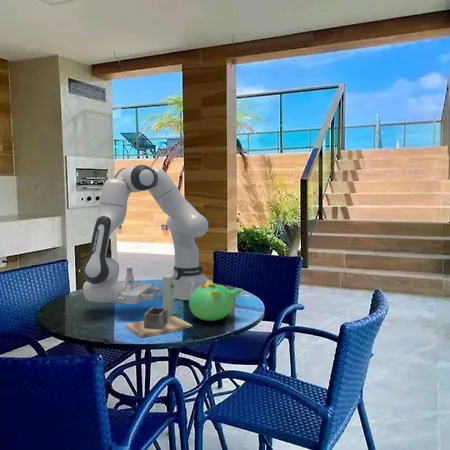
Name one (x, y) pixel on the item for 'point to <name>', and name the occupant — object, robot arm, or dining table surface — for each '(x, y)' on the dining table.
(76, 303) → the dining table surface
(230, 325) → the dining table surface
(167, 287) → the tall grey rectangular block
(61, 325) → the dining table surface
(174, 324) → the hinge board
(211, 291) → the toy bird
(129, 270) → the flask
